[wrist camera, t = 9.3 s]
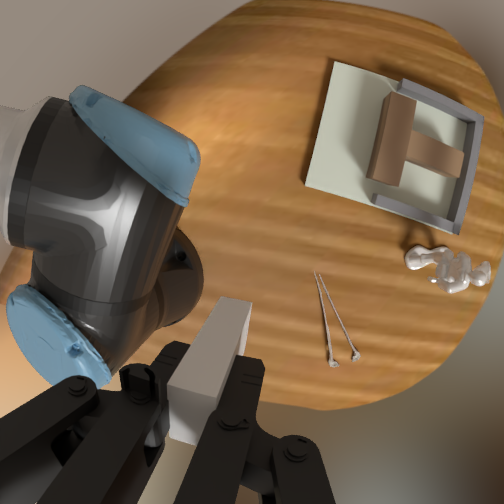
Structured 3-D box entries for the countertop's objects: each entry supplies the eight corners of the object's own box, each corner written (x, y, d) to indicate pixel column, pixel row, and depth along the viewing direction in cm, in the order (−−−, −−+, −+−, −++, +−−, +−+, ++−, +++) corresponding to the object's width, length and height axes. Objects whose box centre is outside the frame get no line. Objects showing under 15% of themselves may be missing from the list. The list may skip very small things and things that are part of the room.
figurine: (402, 243, 34) (438, 274, 23) (462, 230, 32) (512, 253, 21) (406, 279, 35) (439, 320, 24) (464, 264, 33) (510, 297, 22)
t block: (365, 177, 32) (372, 178, 29) (383, 99, 30) (391, 90, 26) (438, 203, 31) (451, 207, 27) (454, 128, 28) (469, 124, 25)
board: (304, 185, 35) (304, 186, 32) (334, 63, 30) (336, 54, 27) (448, 232, 33) (460, 238, 30) (474, 119, 28) (486, 116, 25)
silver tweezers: (360, 356, 40) (362, 363, 38) (330, 365, 41) (330, 372, 39) (326, 242, 38) (326, 245, 36) (292, 254, 39) (290, 258, 37)
